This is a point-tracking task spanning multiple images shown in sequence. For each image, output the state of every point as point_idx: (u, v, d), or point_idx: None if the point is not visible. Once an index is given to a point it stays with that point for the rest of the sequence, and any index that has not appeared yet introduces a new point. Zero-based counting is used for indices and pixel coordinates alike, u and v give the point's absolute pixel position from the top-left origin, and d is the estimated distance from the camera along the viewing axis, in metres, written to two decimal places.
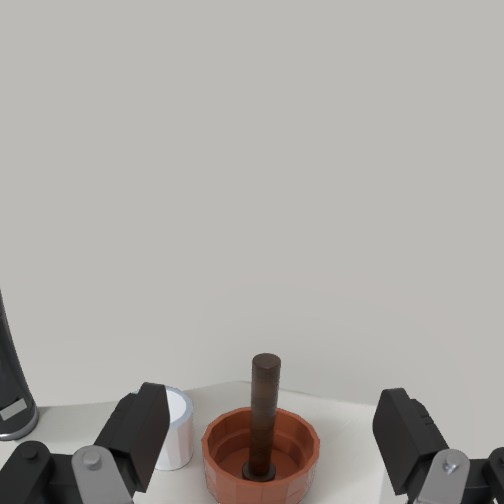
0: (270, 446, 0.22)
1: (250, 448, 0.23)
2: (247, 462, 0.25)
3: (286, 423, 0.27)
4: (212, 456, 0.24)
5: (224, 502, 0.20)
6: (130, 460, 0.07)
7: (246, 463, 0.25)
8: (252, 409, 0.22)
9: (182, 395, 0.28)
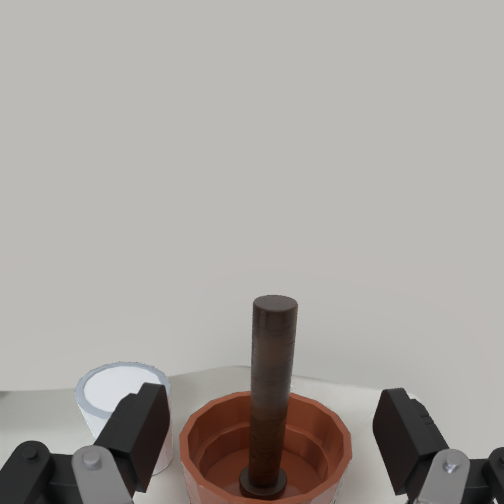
0: (280, 445, 0.15)
1: (250, 448, 0.15)
2: (246, 468, 0.18)
3: (300, 413, 0.20)
4: (196, 459, 0.17)
5: None
6: (130, 460, 0.07)
7: (245, 470, 0.17)
8: (253, 386, 0.14)
9: (157, 374, 0.20)
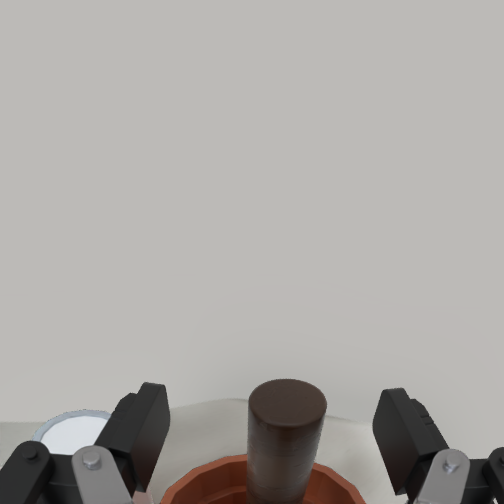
0: None
1: None
2: None
3: None
4: None
5: None
6: (130, 460, 0.07)
7: None
8: (248, 498, 0.08)
9: None
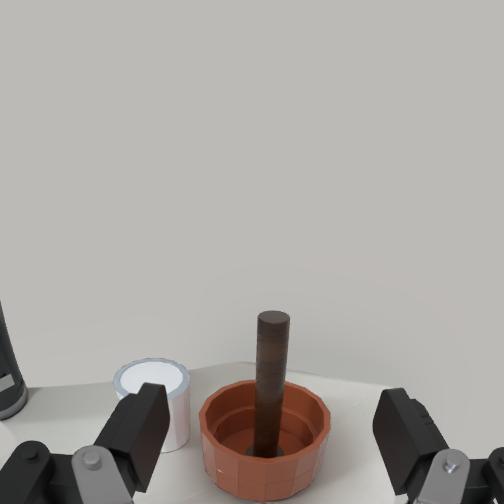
0: (277, 425, 0.20)
1: (254, 427, 0.21)
2: (253, 446, 0.23)
3: (292, 397, 0.26)
4: (210, 434, 0.22)
5: (224, 486, 0.19)
6: (130, 460, 0.07)
7: (251, 447, 0.23)
8: (257, 377, 0.20)
9: (179, 367, 0.26)
